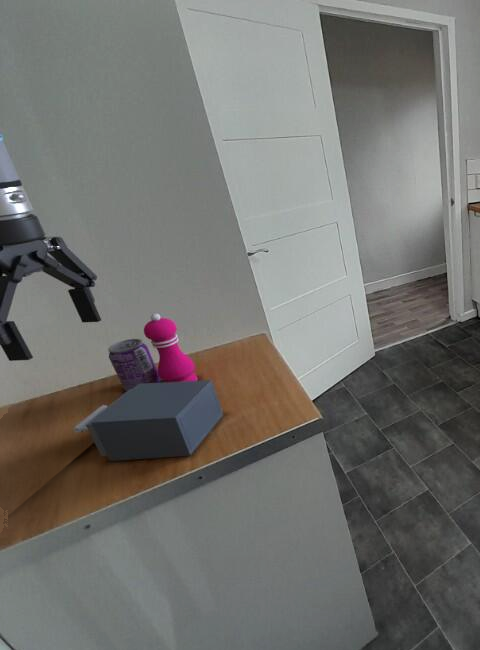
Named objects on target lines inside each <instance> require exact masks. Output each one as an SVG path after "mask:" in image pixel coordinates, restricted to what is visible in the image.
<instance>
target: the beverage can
mask: <svg viewBox="0 0 480 650" xmlns="http://www.w3.org/2000/svg"><path fill="white" fill-rule="evenodd" d="M108 352H109V353H108V359H109V361H110V363H111V365H112V367H113V369H114V371H115V374H116V375H117V378H118V379H119V381H120V384H121V386H122V387H123V390H124V391H125V392H127V391H128V390H129V389H133V388H134V387H135V386H137V385H138V384H144V383H160V381H161V380H162V379H161V378H160V377H159V375H158V367H157V365H156V363H155V361H154V359H153V356H152V354H151V352H150V349H149V348H148V345H147V344H145V343H144V342H143V340H142V339H141V338H129V339H125V340H121V341H118V342H116V343H114V344H111V346H109V347H108Z"/></svg>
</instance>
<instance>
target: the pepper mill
mask: <svg viewBox="0 0 480 650" xmlns="http://www.w3.org/2000/svg"><path fill="white" fill-rule="evenodd" d="M177 330H178V326H177V325H176V323H175V322H174V321H173V320H172V319H170V318H167V317H161V315H160V314H159V313H153V314H151V315H150V320H149V321H148V322H147V323H146V324H145V325H144V326H143V334H144V336H145V337H146V338H147V339H148V340H151V341H150V343H151V345H152V347H153V348H154V349H156V350H157V353H158V355H159V356H158V357H159V360H158V364H157V370H158V375H159V377H160V378H161V380H162V381H165V382H185V381H198V376H197V374H196V372H195V369H196V364H195V363H194V361H193V360H192V359H191V358H190V357H189V356H188V355H187V354H185V352H183V351H182V349H181V348H180V347H179V343H178V341H180V340H179V337H178V334H177Z"/></svg>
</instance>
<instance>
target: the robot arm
mask: <svg viewBox="0 0 480 650" xmlns="http://www.w3.org/2000/svg"><path fill="white" fill-rule="evenodd" d="M33 210H34V208H33V206H32V203H31V201H30V199H29V197H28V195H27V192H26V189H24V186H23V183H22V181H21V179H20V176H19V174H18V172H17V170H16V168H15V165H14V162H13V161H12V158H11V156H10V154H9V152H8V149H7V147H6V145H5V142H4V138H3V135H2V134H0V347H1V348H2V350H3V352H4V354H5V355H6V357H7V359H8V361H9V362H16V361H17V362H18V361H30V360H32V359H33V358H34V357H33V355H32V353H31V350H30V348H29V347H28V345H27V343H26V341H25V339H24V337H23V336H22V334H21V332H20V330H19V328H18V326H17V325H16V322H15V320H8V317H9V313H10V309H11V306H12V304H13V301H14V296H15V293H16V289H17V286H18V284H19V283H21V282H22V281H23V278H25V277H29V276H31V275H33V274H34V273H40V272H43V273H45V274H47V275H48V276H50V277H52V278H54V279H56V280H58V281H59V282H61V283H63V284H65V285H67V286H69V287H71V288H70V289H68V290H67V292H68V294H69V296H70V298H71V301H72V303H73V305H74V307H75V309H76V312H77V314H78V316H79V318H80V320H81V322H82V323H99V322H101V321H102V318H101V316H100V313H99V312H98V308H97V306H96V304H95V302H96V301H95V300H96V299H95V297H94V295H93V292H92V290H91V288H94V287H96V281H97V279H98V276H97V274H96V273H94V272H93V271H92V270H91V268H89V266H87V265H86V264H85V263H84V262H83V261H82V260H81V259H80V258H79V257H78V256H77V255H76V254H75V253H74V252H73V251H72V250H71V249H70V248H69V247H68V245H67V243H66V242H65V239H63V237H61V236H46V232H45V230H44V229H43V226H42V224H41V222H40V220H39V217H38V216H37V215H35V214H33V213H31V212H33ZM48 254H49V255H48ZM7 320H8V321H7Z"/></svg>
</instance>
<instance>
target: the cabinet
mask: <svg viewBox="0 0 480 650" xmlns="http://www.w3.org/2000/svg"><path fill="white" fill-rule="evenodd" d="M223 416H224V413H223V410H222V407H221V405H220V402H219V399H218V395H217V392H216V389H215V386H214V384H213V380H212V379H208V380H207V379H206V380H205V379H204V380H197V381H185V382H158V383H144V384H138V385H137V386H135V387H134V388H133V389H132V390H130V391H129V392H128V393H127V394H126V395H124V396H123V397H122V398H121V399H119V400H118V401H117V402H116V403H115V404H113V405H112V406H111V407H110V408H108V409H107V410H106V411H105V412H103V413H102V414H101V415H100V416H99V417H97V418H96V419H95V420H94V421H92V422H91V423H92V425H93V427H94V429H95V431H96V433H97V435H98V437H99V439H100V441H101V443H102V445H103V447H104V449H105V451H106V453H107V455H108V456H107V457H108V459H109V462H117V461H118V462H119V461H133V460H143V459H144V460H146V459H160V458H161V459H162V458H175V457H176V458H177V457H190V456H192V455H193V453H194V452H195V451H196V449H197V448H198V447H199V446H200V445H201V444H202V442H203V441H204V440H205V438H206V437H207V436H208V434H209V433H210V432H211V431H212V430H213V428H214V427H215V426H216V425H217V423H218V422H219V421H220V419H222V417H223Z"/></svg>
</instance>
